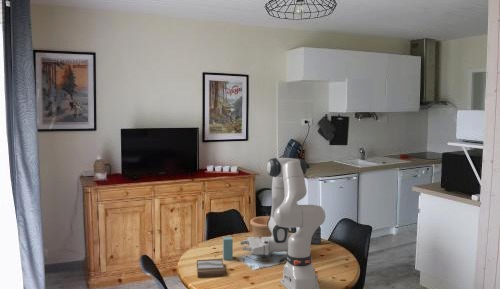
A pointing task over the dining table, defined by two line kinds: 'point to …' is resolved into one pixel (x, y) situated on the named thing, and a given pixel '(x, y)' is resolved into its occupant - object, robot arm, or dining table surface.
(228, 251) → the teal block
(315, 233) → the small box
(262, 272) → the dining table surface
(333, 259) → the dining table surface
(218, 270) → the base plinth
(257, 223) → the pottery
